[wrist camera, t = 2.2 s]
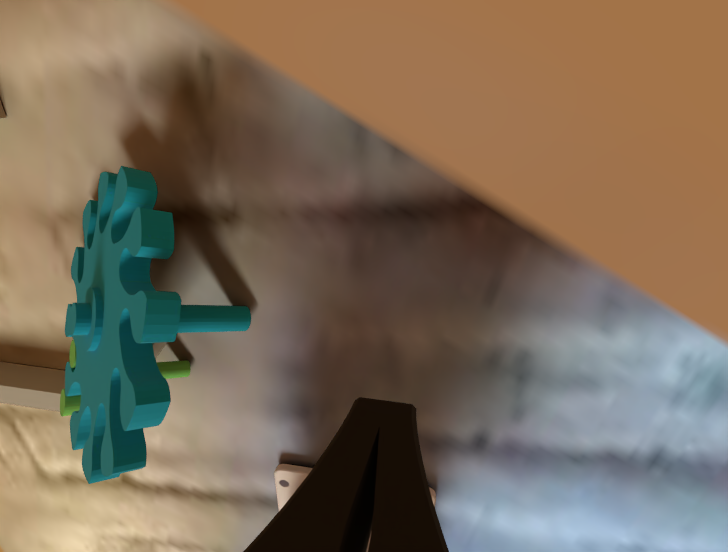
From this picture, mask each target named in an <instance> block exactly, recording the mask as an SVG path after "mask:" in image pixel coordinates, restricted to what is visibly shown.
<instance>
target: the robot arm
mask: <svg viewBox="0 0 728 552" xmlns="http://www.w3.org/2000/svg"><path fill="white" fill-rule="evenodd" d="M274 477H275V485H276V493H277V500H278V508H279V512H278V513H277V515H276V516H275V517H274V518H273V519H272V520H271V522H270V523H269V524H268V525H267V526H266V527H265V529H264V530H263V531H262V532H261V533H260V534H259V535H258V536H257V537H256V539H255V540H254V541H253V542H252V543H251V544H250V545H249V546H248V547H247V548H246V549H245V551H244V552H449V551H448V548H447V545H446V542H445V539H444V536H443V533H442V530H441V527H440V523H439V520H438V517H437V514H436V511H435V502H436V493H435V491H434V490H433V489H432V488H430V487H429V485H428V481H427V478H426V474H425V470H424V465H423V461H422V456H421V451H420V445H419V440H418V433H417V423H416V408H415V407H414V406H413V405H412V404H406V403H398V402H391V401H383V400H376V399H368V398H358V399H357V400H355V402H354V404H353V406H352V408H351V410H350V412H349V413H348V415H347V417H346V419H345V421H344V422H343V424H342V426H341V427H340V429H339V430H338V432H337V434H336V435H335V437H334V438H333V440H332V441H331V443H330V444H329V446H328V447H327V449H326V450H325V452H324V453H323V455H322V456H321V457H320V459H319V460H318V462H317V463H316V465H315V466H314V467H313V468H309V467H302V466H296V465H290V464H280V465H278V466H277V467H276V470H275V472H274Z"/></svg>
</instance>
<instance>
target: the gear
mask: <svg viewBox="0 0 728 552" xmlns="http://www.w3.org/2000/svg"><path fill="white" fill-rule="evenodd" d="M157 193H158V191H157V185H156V182H155V180H154V177H153V176H152V174H151V172H146V171H142V170H137V169H133V168H128V167H124V166H121V168H120V170H119V173H118V174H114V173H110V172H102V173H101V174H100V179H99V186H98V201H94V200H89V201H88V203H87V205H86V207H85V209H84V212H83V231H84V243H85V248H83V247H76V250H75V253H74V257H73V261H72V266H71V275H72V279H73V280H74V282H75V286H76V292H77V303H73V304H68V308H67V315H66V324H65V334H66V337H73V339H74V340H72V342H71V346H70V355H69V360H70V362H67V364H66V369H65V389H62V391H61V396H60V414H61V416H68V415H71V420H70V433H71V442H72V449H73V450H77V449H82V448H84V449H83V456H82V467H83V471H84V474H85V477H86V479H87V481H88V483H89V484H90V483H95V482H99V481H103V480H107V479H112V478H116V477H119V476H120V473H124V472H128V471H133V470H137V469H141V468H143V467H145V466H146V442H145V438H144V433H143V428H146V427H152V426H158V425H159V424H160V423H161V422H162V421H163V419H164V417H165V415H166V412H167V410H168V407H169V404H170V401H171V399H170V390H169V386H168V383H167V381H166V379H168V378H178V377H188V376H189V374H190V363H189V361H188V360H186V361H172V362H158V363H156V360H155V359H156V357H157V356H158V355H159V353H160V352H161V350H162V349H163V347H164V346H165V345H166V343H167V342H174V341H175V339H176V335H177V333H185V332H224V331H246V330H247V329H248V328H249V326H250V322H251V313H250V310H249V308H248V307H247V306H214V305H181V298H180V296H179V294H178V293H176V292H166V291H156V290H155V288H154V287H153V285H152V283H151V280H150V263H151V259H152V258H158V259H168V258H170V256H171V255H172V253H173V251H174V224H173V216H172V213H170V212H164V211H158V210H152V209H153V208H154V205H155V202H156V199H157Z"/></svg>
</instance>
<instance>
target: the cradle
mask: <svg viewBox="0 0 728 552" xmlns="http://www.w3.org/2000/svg"><path fill="white" fill-rule="evenodd" d="M5 117H6V115H5V112H4V109H3V106H2V104H1V101H0V118H5ZM62 389H65V370H58V369H50V368H43V367H35V366H28V365H21V364H13V363H6V362H0V403H5V404H12V405H18V406H25V407H31V408H38V409H44V410H51V411H58V412H60V396H61V391H62Z"/></svg>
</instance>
